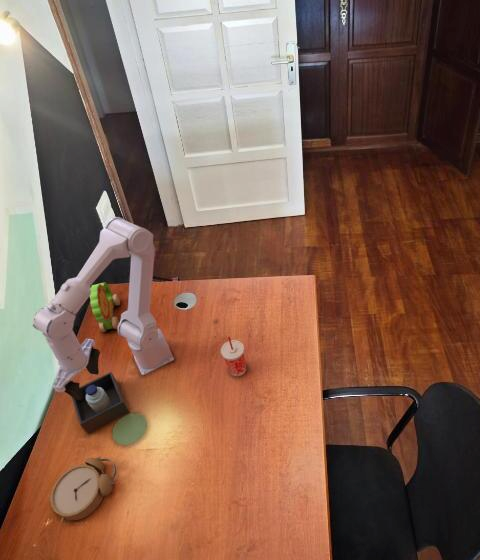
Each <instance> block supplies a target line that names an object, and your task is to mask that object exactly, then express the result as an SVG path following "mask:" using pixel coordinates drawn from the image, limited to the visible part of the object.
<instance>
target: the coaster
mask: <svg viewBox="0 0 480 560" xmlns="http://www.w3.org/2000/svg"><path fill="white" fill-rule="evenodd" d="M147 426H148V422H147V419H146V418H145V416H143V415H142V414H140V413H135V412H134V413H127V414H126V415H124V416H122V417H120V418H119V419H118V421H116V423H115V424H114V426H113V429H112V439H113V441H114V442H115V443H116V444H118V445H120V446H129V445H132V444H135V443H137V442H138V441H139V440H140V439H142V437H143V436H144V434H146V432H147Z"/></svg>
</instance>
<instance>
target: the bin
mask: <svg viewBox="0 0 480 560" xmlns="http://www.w3.org/2000/svg"><path fill="white" fill-rule="evenodd" d="M90 385H95V386H96V387H101V388H102V389H103V390H104V391H105V393H106V394H107V396H108V397H109V399H110V401H111V402H112V406H111V407H109V408H107V409H106V410H104V411H102V412H100V413H98V414H96V413H95V412H94V410H93V409H92V408H91V406H90V405H89V403H88V402H87V400H86V394H87V393H86V388H87V387H88V386H90ZM79 387H80V391H81V393H82V395H83V399H82V400H77V399H74V398H73V397H71V400H72V403H73V406H74V409H75V412H76V416H77V419H78V423H79V425H80V426H81V428H82V429H83V430H84V431H85V433H86V434H87V435H90V434H91V433H93V432H96V431H97V430H99V429H101V428H103V427H104V426H107V425H109V424H111V423H113V422H114V421H116V420H119V419H121V418H122V417H124V416H126V415H128V414H130V409H129V407H128V404H127V402H126V400H125V397H124V394H123V392H122V390H121V387H120V385H119V382H118V380H117V379H116V378H115V375H114V374H113V373H112V371H110V372H107V373H106V374H103V375H102V376H99V377H98V378H96V379H93V380H91V381H89V382H87V383H85V384H83V385H81V386H79Z"/></svg>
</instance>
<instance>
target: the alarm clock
mask: <svg viewBox="0 0 480 560" xmlns="http://www.w3.org/2000/svg"><path fill="white" fill-rule="evenodd" d="M103 462H110V463H111V464H112V466H113V472H112V476H110V475H109V474H107V473H105V472H104V470H105V465H104V463H103ZM95 468H97V469H98V470H100V471H98V470H96V469H95ZM117 471H118V470H117V466H116V464H115V462H114V461H112V459H110V458H104V457H103V458H101V457H100V456H98V457H89V458H87V459H86V460H85V461H84V464H78V465H75V466H71V467H70V468H69V469H67V470H65V471H64V472H63V473H62V474H61V475H60V476H59V477H58V478H57V480H56V481H55V483H54V485H53V487H52V489H51V492H50V495H49V496H48V498H49V501H50V505H51V508H52V510H53V512H54V513H55V514H57V515H59V516H61V519H60V524H62V523H64V521H65V520H67V521H79V520H82V519H85V518H87V516H89V515H91V514H92V513H93V512H94V511H95V510H96V509H97V508H98V507H99V505H100V503H101V502H102V501H103V498H104V497H107V496H108V495H110V493H111V492H112V491H113V489H114V485H115V482H114V480H115V478H116V476H117Z"/></svg>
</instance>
